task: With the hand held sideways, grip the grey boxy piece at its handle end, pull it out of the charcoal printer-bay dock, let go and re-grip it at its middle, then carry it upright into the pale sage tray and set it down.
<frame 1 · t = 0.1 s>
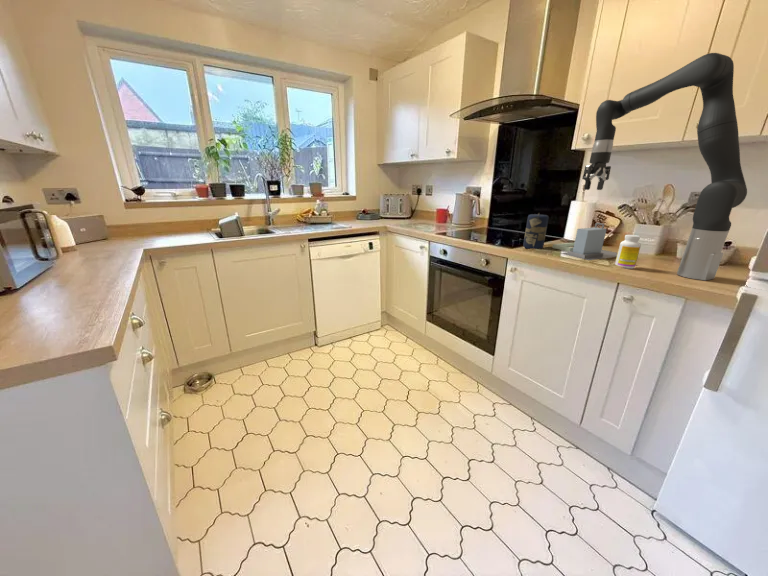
hand: (593, 189, 143), 29 cm above the countertop, tool pointing down, fingers open, 8 cm apart
grey boxy piece: (586, 255, 142), point 1 cm above the countertop, touching printer bay
tray: (572, 249, 157), on the countertop
supplement bottle: (624, 267, 126), on the countertop
canister: (532, 248, 160), on the countertop
printer bay: (593, 255, 144), on the countertop
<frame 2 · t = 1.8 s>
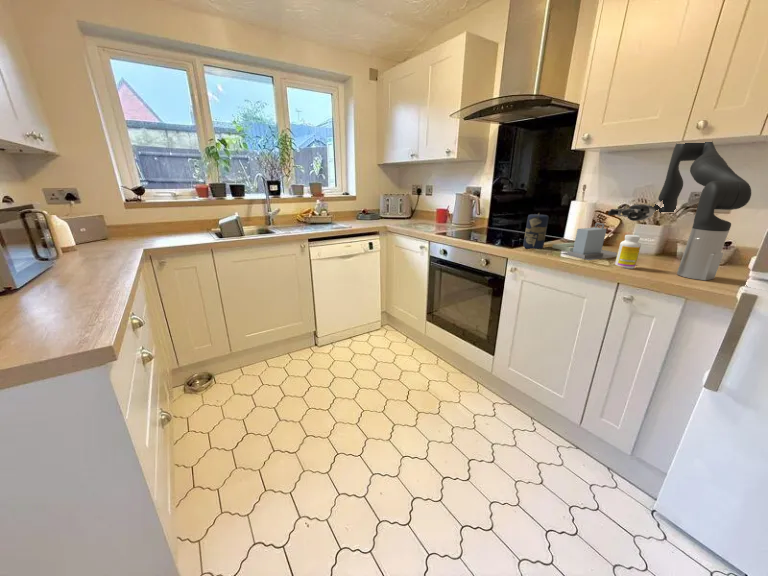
hand: (618, 213, 142), 19 cm above the countertop, tool horizontal, fingers open, 8 cm apart
nothing on the countertop moved.
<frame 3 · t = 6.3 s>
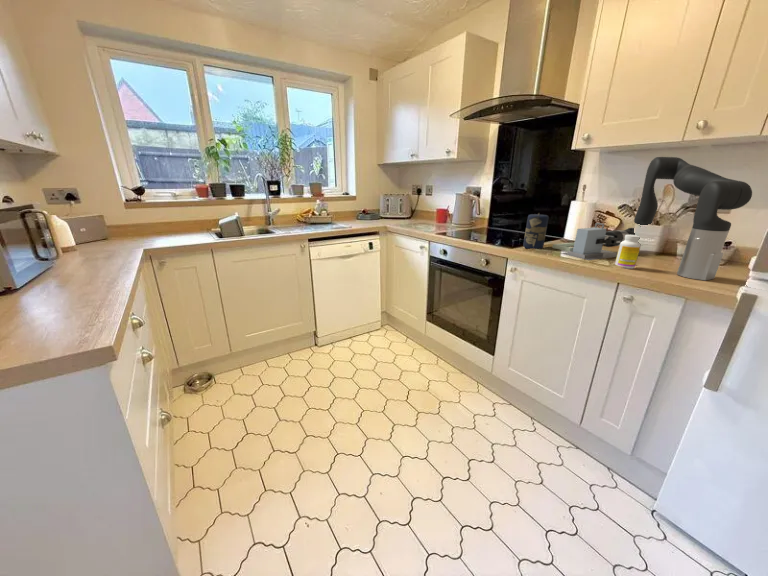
hand: (590, 240, 140), 8 cm above the countertop, tool horizontal, fingers closed on grey boxy piece, 5 cm apart
grey boxy piece: (586, 255, 142), point 1 cm above the countertop, touching gripper, printer bay
everything else where it was.
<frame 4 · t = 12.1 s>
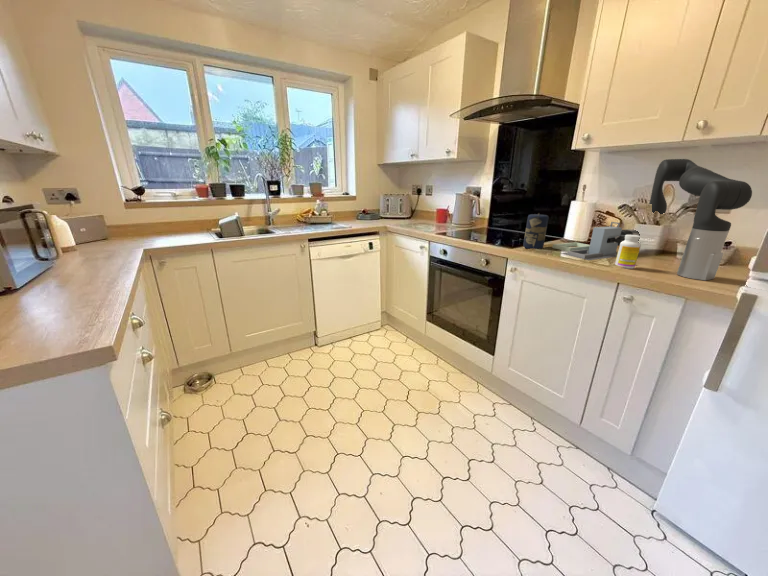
hand: (601, 239, 143), 7 cm above the countertop, tool horizontal, fingers closed on grey boxy piece, 5 cm apart
grey boxy piece: (601, 253, 146), point 1 cm above the countertop, touching gripper, printer bay
everything else where it was.
when the fingers open (9 cm above the countertop, at t = 17.6 s): grey boxy piece drops 1 cm, resting on tray.
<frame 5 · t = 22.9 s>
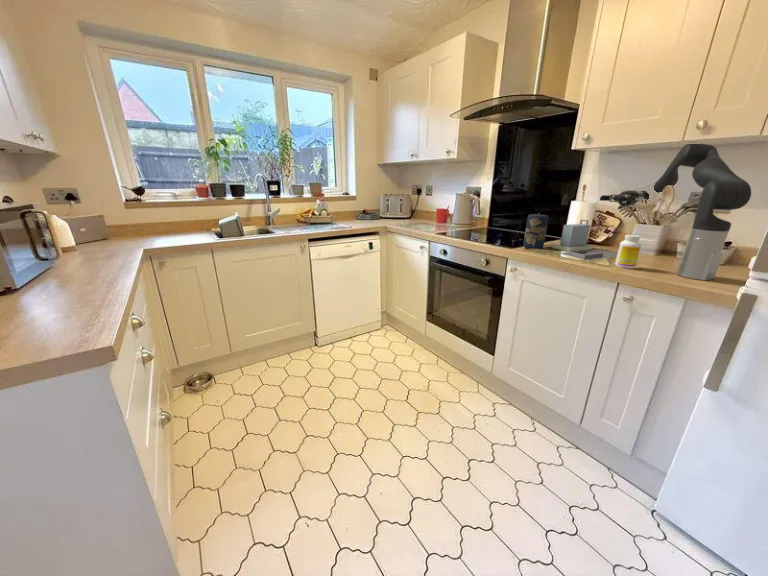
hand: (609, 198, 150), 25 cm above the countertop, tool horizontal, fingers open, 8 cm apart
grey boxy piece: (572, 248, 156), resting on tray
everything else where it was.
at the end: grey boxy piece 0.2 cm off-centre on the tray, point 0.5 cm above the tray's base; grey boxy piece tilted 0°; the gripper is holding nothing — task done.
